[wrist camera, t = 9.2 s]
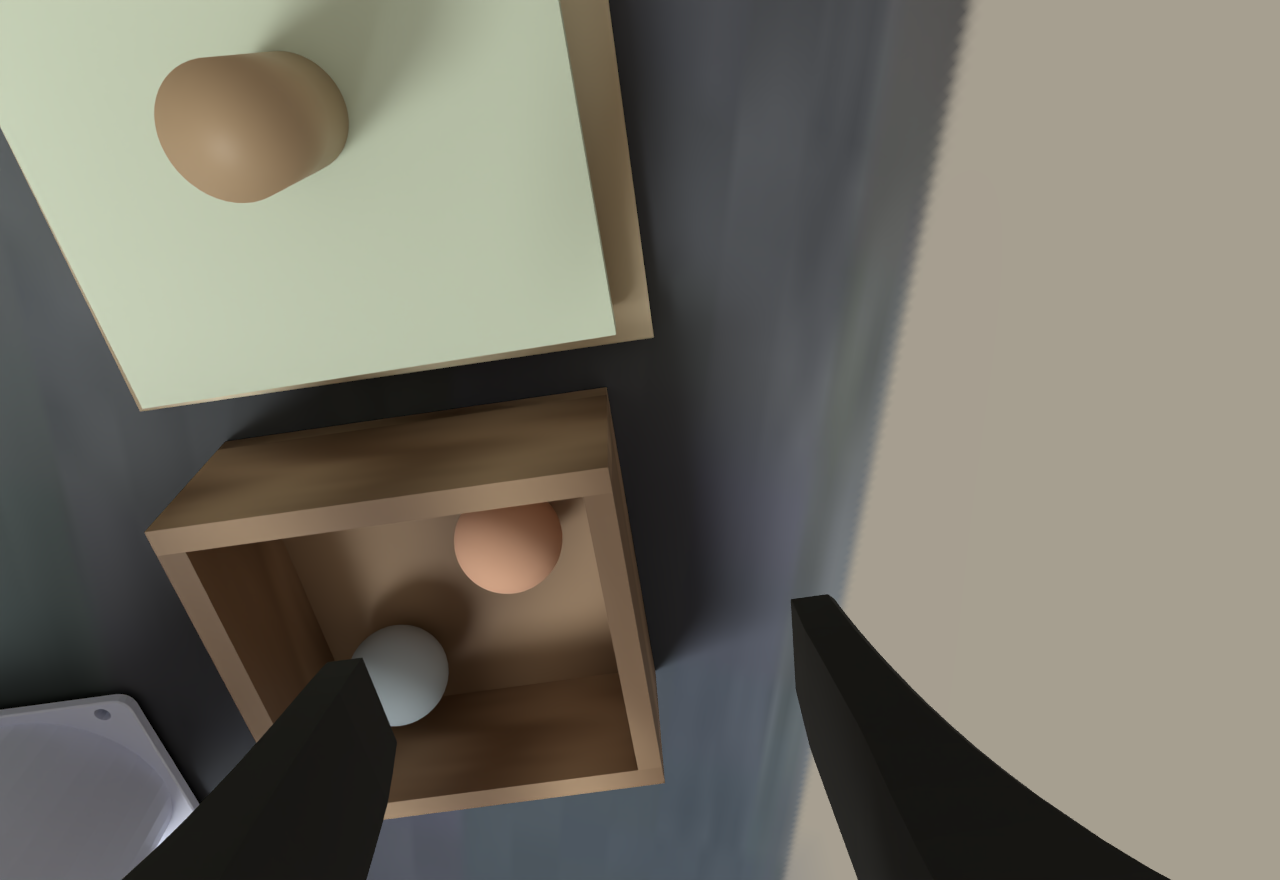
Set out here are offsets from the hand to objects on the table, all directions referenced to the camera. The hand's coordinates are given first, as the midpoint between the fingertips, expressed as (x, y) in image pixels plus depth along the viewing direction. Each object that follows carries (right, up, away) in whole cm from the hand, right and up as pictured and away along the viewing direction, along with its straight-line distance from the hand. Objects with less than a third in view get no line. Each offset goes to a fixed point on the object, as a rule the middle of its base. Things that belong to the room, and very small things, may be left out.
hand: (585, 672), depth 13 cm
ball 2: (-3, +2, +10) cm, 11 cm away
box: (-5, 0, +12) cm, 13 cm away
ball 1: (-7, -3, +12) cm, 14 cm away
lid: (-7, +11, +4) cm, 14 cm away
